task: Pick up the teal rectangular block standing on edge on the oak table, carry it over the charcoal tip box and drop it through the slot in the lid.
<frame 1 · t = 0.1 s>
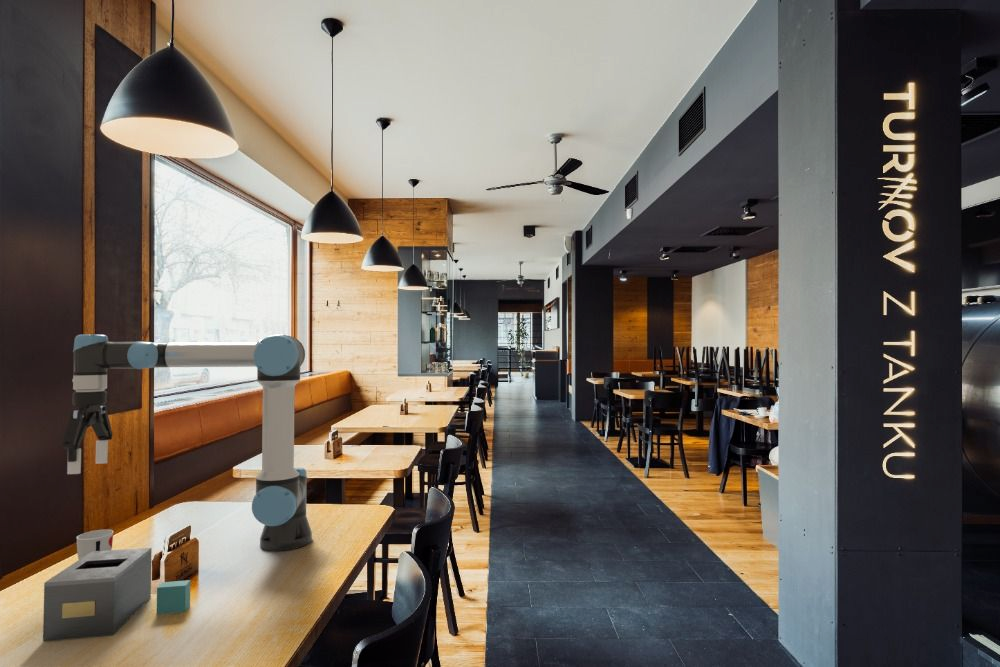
hand: (88, 468, 149), 28 cm above the table, fingers open, 13 cm apart
cup: (94, 572, 149), on the table
teal rectangular block: (173, 610, 126), on the table
tip box: (101, 617, 123), on the table
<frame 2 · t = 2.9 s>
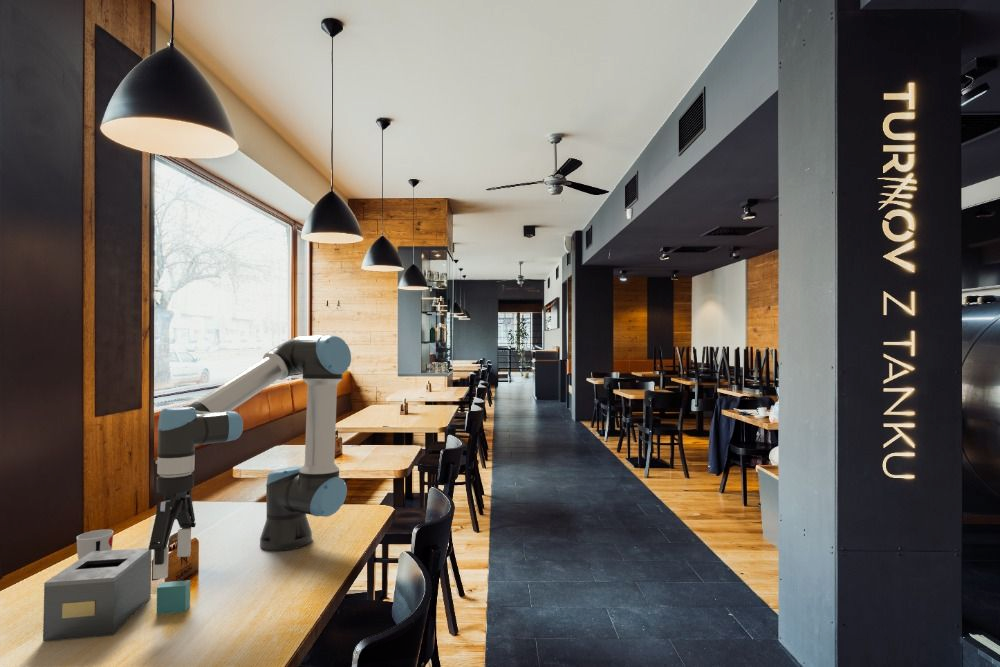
hand: (172, 566, 126), 10 cm above the table, fingers open, 13 cm apart
nothing on the table moved.
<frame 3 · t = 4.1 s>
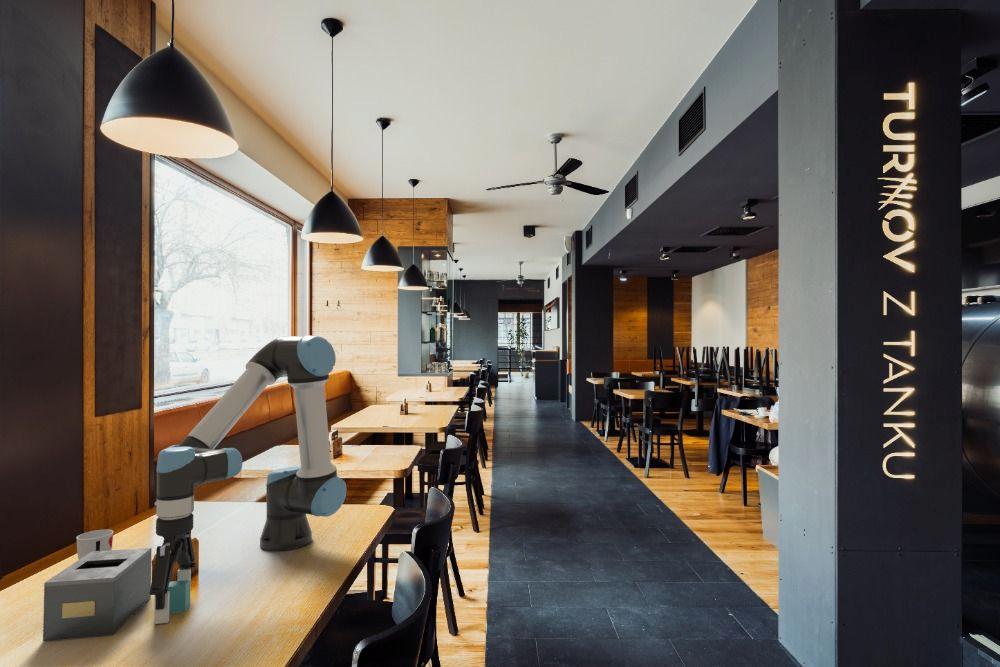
hand: (173, 609, 126), 0 cm above the table, fingers open, 12 cm apart
nothing on the table moved.
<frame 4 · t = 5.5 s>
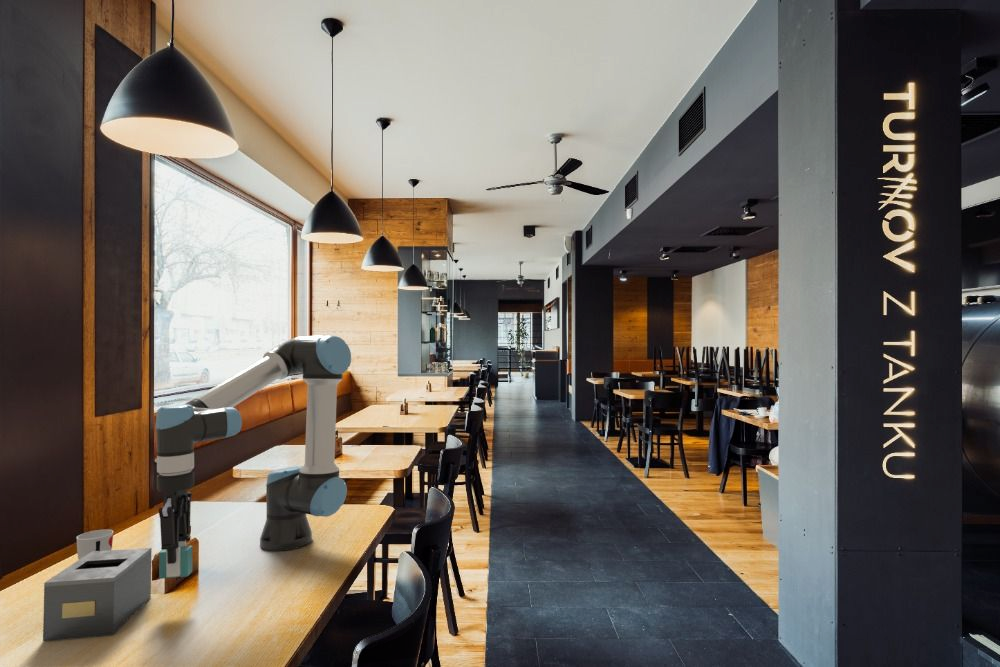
hand: (176, 572, 127), 8 cm above the table, fingers closed on teal rectangular block, 3 cm apart
teal rectangular block: (176, 574, 127), point 8 cm above the table, touching gripper
everything else where it was.
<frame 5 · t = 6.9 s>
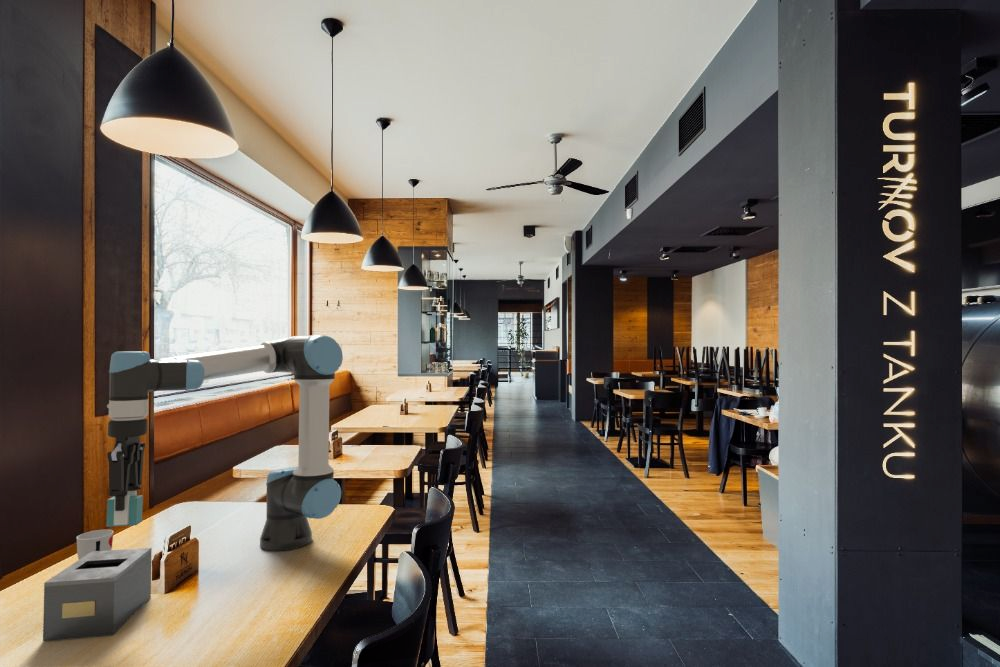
hand: (125, 521, 124), 21 cm above the table, fingers closed on teal rectangular block, 3 cm apart
teal rectangular block: (124, 524, 124), point 21 cm above the table, touching gripper
everything else where it was.
when the fingers open (13 cm above the table, at t = 8.7 s): teal rectangular block drops 12 cm, resting on tip box.
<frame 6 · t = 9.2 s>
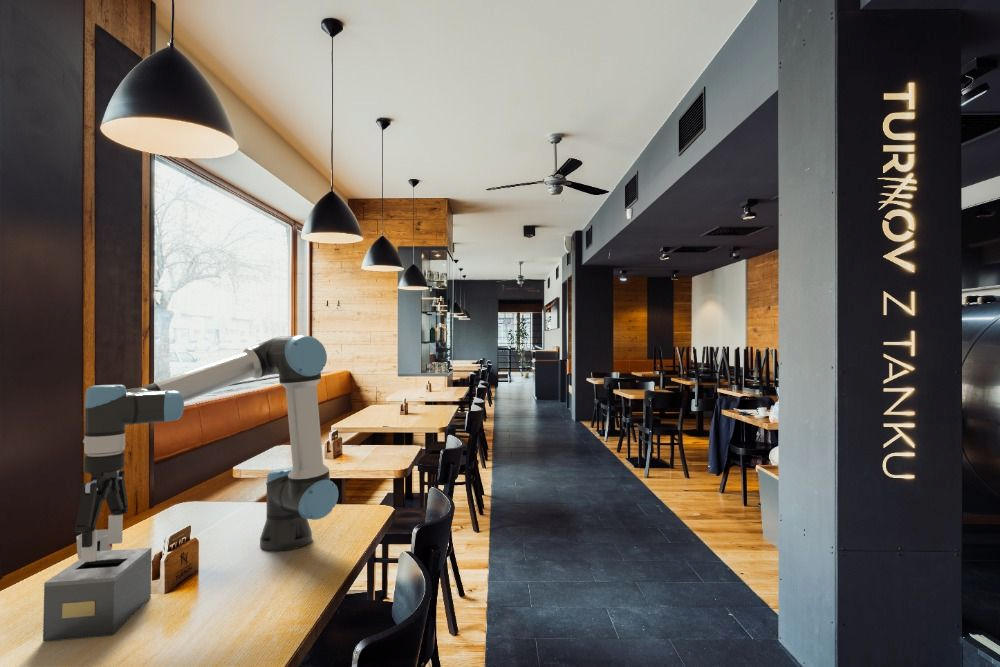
hand: (102, 551, 123), 15 cm above the table, fingers open, 10 cm apart
teal rectangular block: (100, 614, 123), point 1 cm above the table, touching tip box
everything else where it was.
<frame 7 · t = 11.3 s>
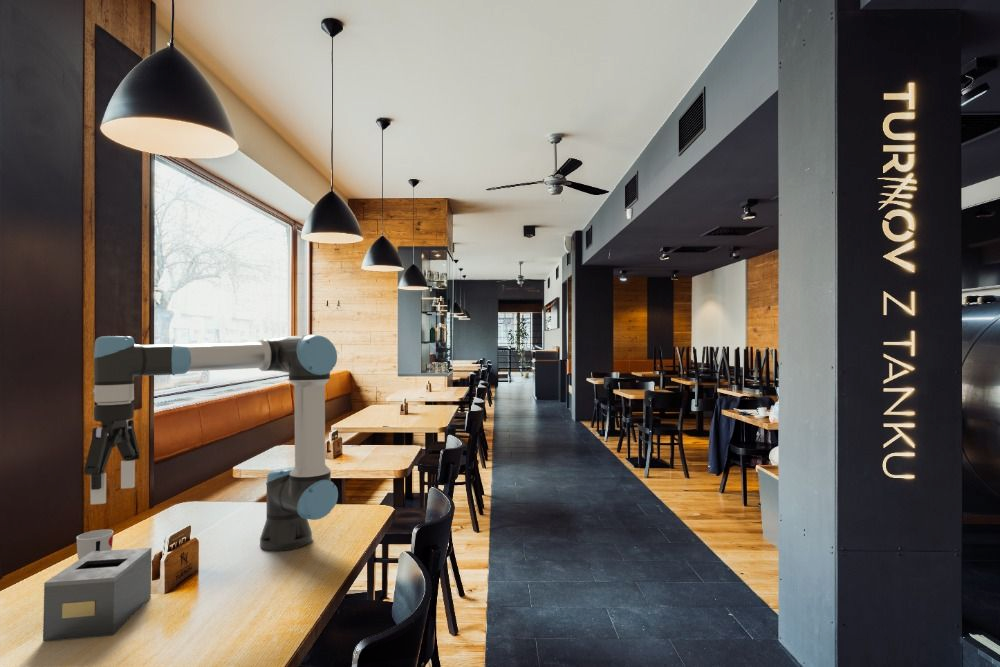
hand: (113, 495, 126), 27 cm above the table, fingers open, 13 cm apart
nothing on the table moved.
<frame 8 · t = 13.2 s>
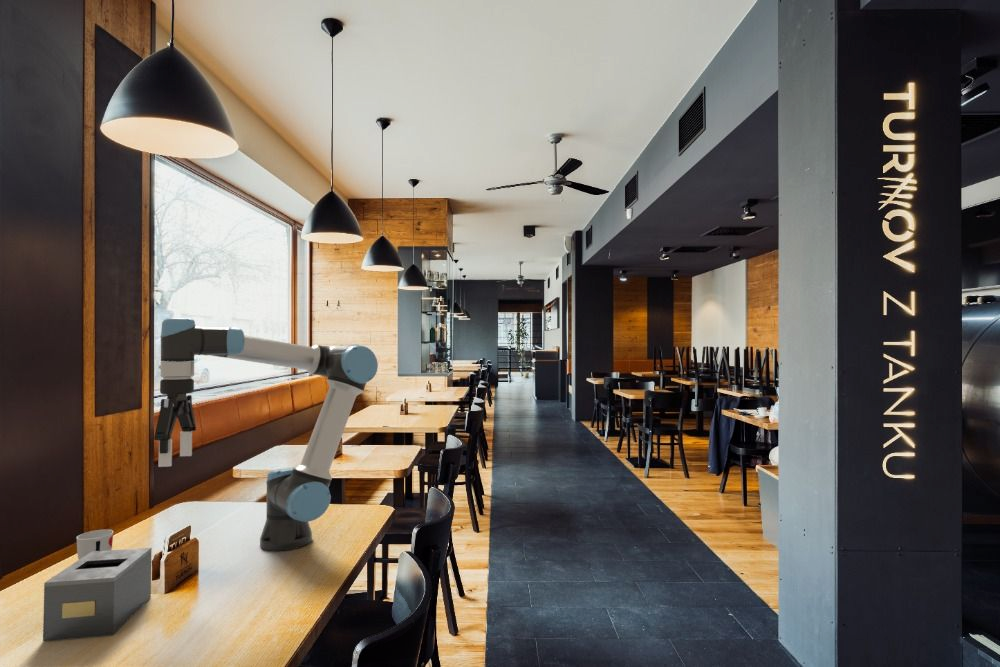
hand: (175, 461, 140), 32 cm above the table, fingers open, 13 cm apart
nothing on the table moved.
at the end: teal rectangular block inside the target area on the tip box (0.1 cm from its centre), point 0.8 cm above the tip box's base; the gripper is holding nothing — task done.
